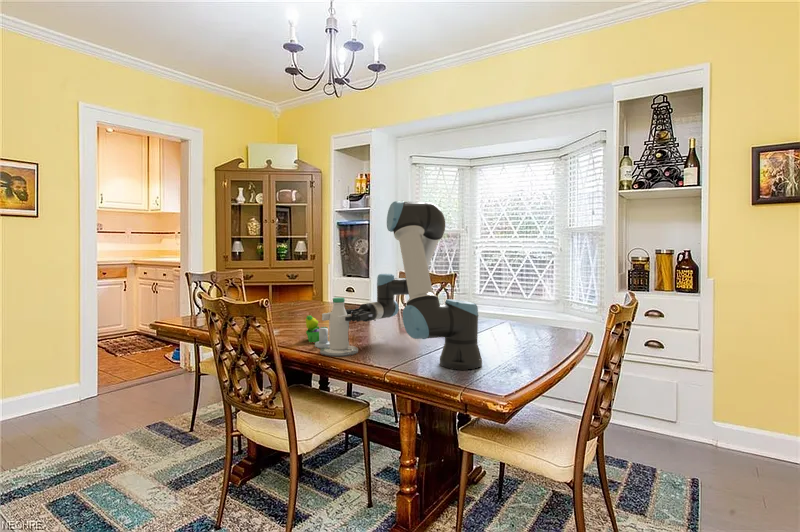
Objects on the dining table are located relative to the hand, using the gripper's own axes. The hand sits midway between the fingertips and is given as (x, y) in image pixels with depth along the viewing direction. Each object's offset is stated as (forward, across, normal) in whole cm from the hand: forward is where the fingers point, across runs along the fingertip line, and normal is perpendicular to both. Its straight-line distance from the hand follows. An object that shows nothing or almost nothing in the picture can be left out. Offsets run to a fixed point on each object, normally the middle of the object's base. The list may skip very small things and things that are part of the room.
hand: (330, 318), depth 176 cm
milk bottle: (-5, 0, -13) cm, 13 cm away
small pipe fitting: (-7, +12, -14) cm, 20 cm away
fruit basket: (-12, +23, -14) cm, 30 cm away
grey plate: (-5, 0, -14) cm, 15 cm away
